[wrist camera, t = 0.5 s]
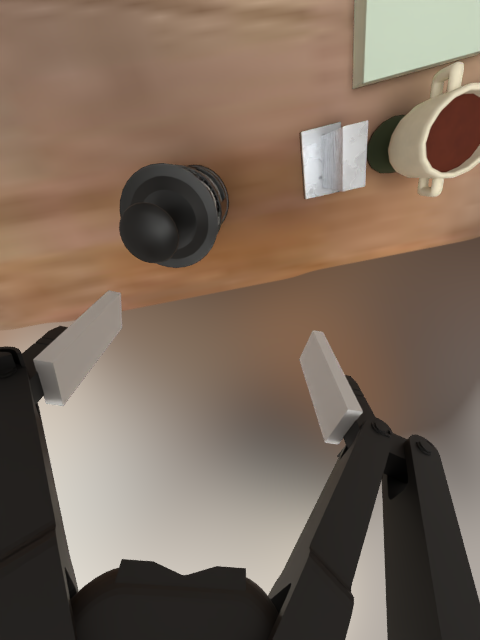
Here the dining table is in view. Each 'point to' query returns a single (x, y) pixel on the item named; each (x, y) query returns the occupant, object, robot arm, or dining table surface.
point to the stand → (411, 36)
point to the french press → (172, 213)
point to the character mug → (432, 135)
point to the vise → (333, 158)
